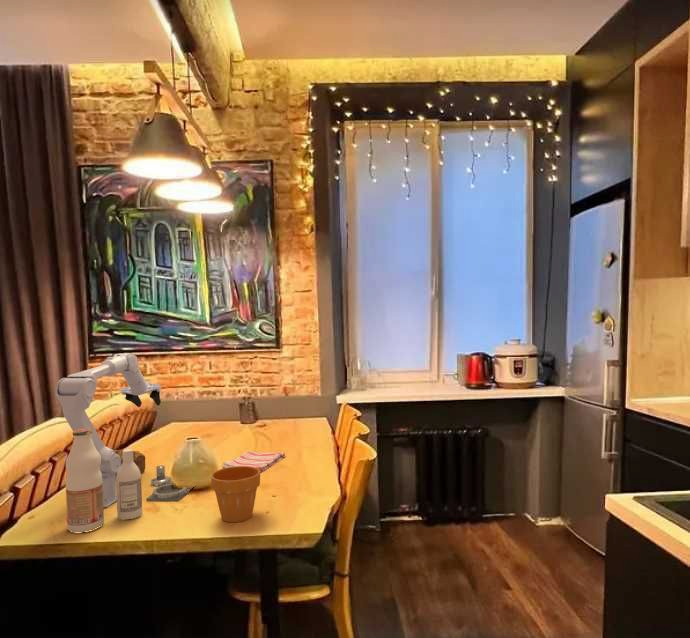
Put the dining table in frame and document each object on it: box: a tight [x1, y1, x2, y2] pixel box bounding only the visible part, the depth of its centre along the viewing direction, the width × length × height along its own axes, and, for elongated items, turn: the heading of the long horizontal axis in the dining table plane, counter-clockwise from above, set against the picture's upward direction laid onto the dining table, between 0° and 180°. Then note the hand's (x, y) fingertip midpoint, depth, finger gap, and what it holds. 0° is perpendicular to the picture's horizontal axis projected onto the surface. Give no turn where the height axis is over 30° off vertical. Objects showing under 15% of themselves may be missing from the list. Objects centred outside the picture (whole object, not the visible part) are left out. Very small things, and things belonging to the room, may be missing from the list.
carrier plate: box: [145, 480, 191, 502], centre depth 175 cm, size 15×11×4 cm
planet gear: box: [150, 465, 172, 488], centre depth 186 cm, size 7×7×6 cm
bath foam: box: [116, 448, 143, 520], centre depth 155 cm, size 7×7×20 cm
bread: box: [113, 449, 146, 476], centre depth 196 cm, size 19×11×10 cm, turn 87°
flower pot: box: [210, 466, 261, 523], centre depth 153 cm, size 14×14×13 cm
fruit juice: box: [65, 429, 105, 532], centre depth 148 cm, size 9×9×28 cm
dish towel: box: [221, 451, 286, 474], centre depth 207 cm, size 17×23×4 cm
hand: (149, 404), depth 196 cm, fingers open, 7 cm apart
